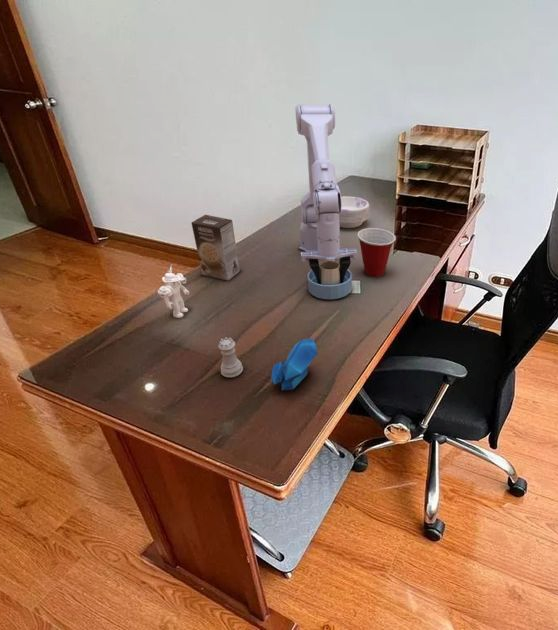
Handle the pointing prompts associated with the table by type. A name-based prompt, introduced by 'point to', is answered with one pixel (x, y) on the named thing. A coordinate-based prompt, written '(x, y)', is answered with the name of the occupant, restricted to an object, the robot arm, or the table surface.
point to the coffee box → (216, 247)
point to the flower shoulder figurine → (174, 292)
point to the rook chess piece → (229, 359)
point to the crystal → (294, 365)
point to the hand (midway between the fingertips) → (330, 282)
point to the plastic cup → (375, 249)
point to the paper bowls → (353, 212)
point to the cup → (329, 273)
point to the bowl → (329, 287)
